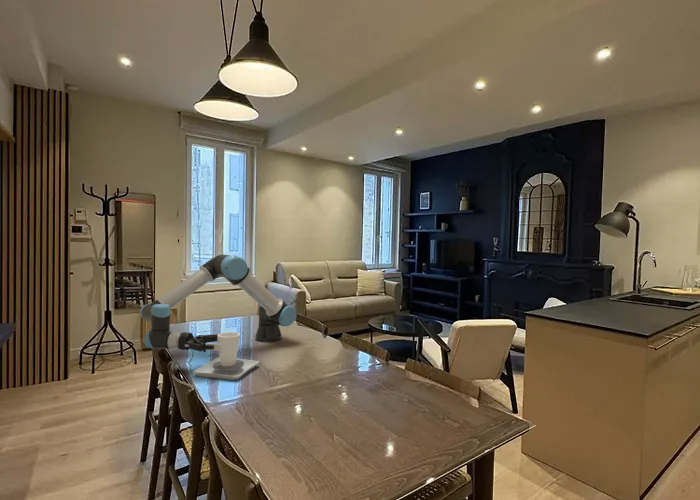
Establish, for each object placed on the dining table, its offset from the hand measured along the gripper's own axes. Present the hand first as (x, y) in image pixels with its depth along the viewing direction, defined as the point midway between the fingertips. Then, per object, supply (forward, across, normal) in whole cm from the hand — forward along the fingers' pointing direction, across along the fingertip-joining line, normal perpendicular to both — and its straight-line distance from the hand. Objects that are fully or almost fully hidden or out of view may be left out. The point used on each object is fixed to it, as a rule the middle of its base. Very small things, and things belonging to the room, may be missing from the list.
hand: (228, 343), depth 168 cm
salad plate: (0, 0, -14) cm, 14 cm away
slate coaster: (0, 0, -10) cm, 10 cm away
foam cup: (0, 0, -10) cm, 10 cm away
